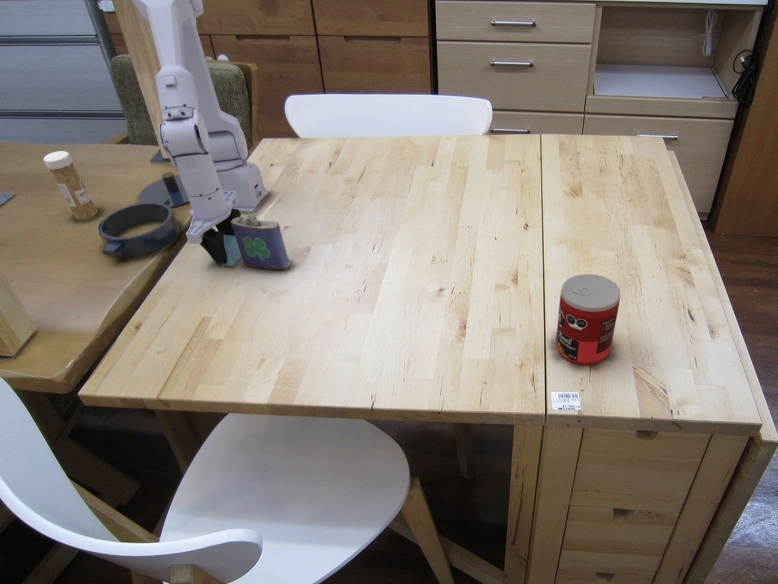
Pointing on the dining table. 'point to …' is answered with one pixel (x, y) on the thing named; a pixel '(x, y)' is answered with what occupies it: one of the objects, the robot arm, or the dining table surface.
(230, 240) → the blue cube
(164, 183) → the lid
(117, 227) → the pot
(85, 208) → the sprinkles bottle
